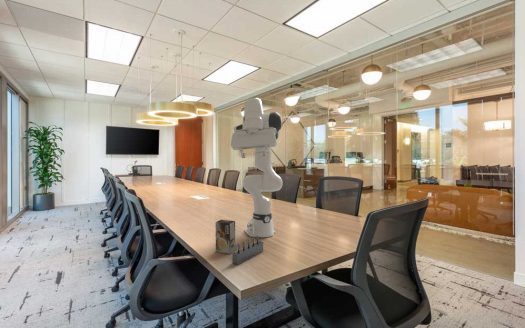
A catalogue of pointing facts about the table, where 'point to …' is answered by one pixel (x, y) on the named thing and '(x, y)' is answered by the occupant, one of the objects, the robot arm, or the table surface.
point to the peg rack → (247, 251)
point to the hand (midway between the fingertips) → (253, 156)
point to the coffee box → (225, 236)
